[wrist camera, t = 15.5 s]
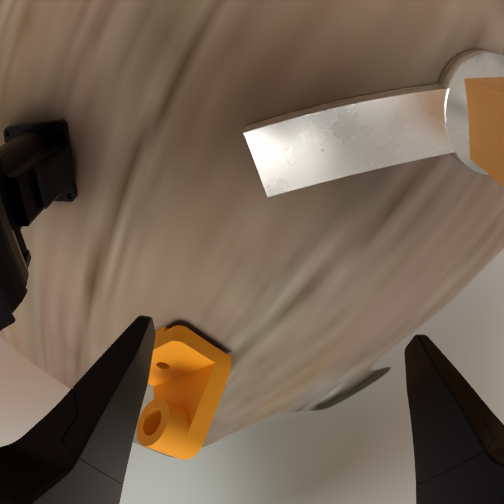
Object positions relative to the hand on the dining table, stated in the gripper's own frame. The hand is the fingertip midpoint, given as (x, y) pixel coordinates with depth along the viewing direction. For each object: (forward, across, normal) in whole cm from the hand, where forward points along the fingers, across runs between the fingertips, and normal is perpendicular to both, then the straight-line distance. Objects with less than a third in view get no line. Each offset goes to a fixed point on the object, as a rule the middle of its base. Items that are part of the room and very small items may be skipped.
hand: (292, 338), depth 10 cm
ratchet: (+13, -8, -5) cm, 16 cm away
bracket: (+13, +8, +22) cm, 27 cm away
